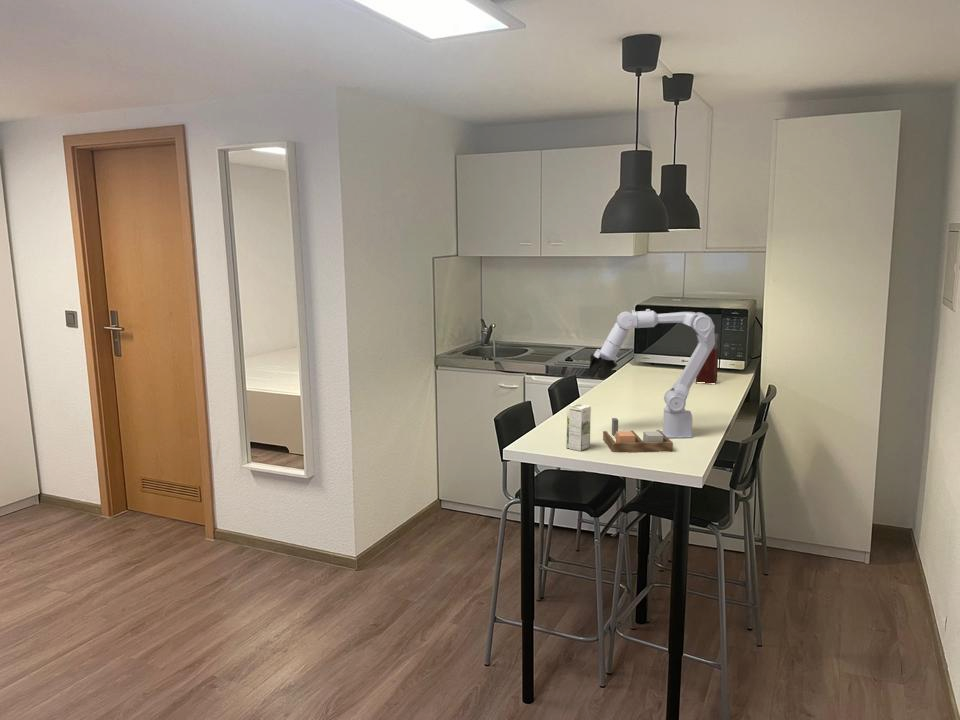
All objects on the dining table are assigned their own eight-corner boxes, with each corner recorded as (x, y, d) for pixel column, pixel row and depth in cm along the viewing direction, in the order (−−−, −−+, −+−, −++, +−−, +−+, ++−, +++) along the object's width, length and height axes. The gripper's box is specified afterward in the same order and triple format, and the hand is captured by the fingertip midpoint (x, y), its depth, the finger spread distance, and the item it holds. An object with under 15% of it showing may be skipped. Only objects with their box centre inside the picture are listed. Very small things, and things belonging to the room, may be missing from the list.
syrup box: (575, 444, 247) (575, 402, 244) (590, 447, 243) (591, 405, 241) (566, 448, 242) (566, 406, 240) (581, 451, 238) (581, 408, 236)
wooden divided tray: (659, 438, 253) (659, 430, 253) (672, 451, 237) (672, 442, 237) (603, 439, 253) (603, 431, 252) (612, 452, 237) (612, 443, 236)
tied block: (621, 434, 259) (621, 417, 258) (634, 450, 239) (635, 432, 238) (606, 434, 259) (607, 418, 258) (619, 450, 239) (619, 433, 238)
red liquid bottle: (693, 379, 360) (695, 323, 355) (717, 381, 355) (719, 324, 351) (690, 383, 351) (692, 325, 347) (715, 384, 347) (717, 326, 343)
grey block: (657, 445, 245) (658, 431, 244) (662, 450, 239) (663, 435, 239) (642, 445, 245) (643, 431, 244) (647, 450, 239) (647, 436, 238)
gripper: (613, 340, 263) (595, 373, 266) (595, 335, 251) (576, 369, 254) (628, 349, 259) (610, 383, 262) (611, 344, 247) (592, 379, 250)
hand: (594, 377), depth 258 cm, fingers open, 7 cm apart
